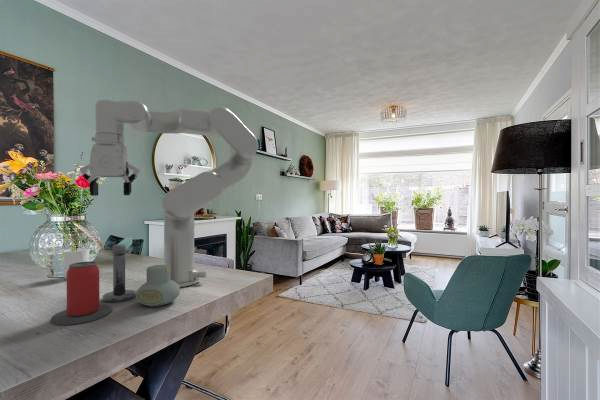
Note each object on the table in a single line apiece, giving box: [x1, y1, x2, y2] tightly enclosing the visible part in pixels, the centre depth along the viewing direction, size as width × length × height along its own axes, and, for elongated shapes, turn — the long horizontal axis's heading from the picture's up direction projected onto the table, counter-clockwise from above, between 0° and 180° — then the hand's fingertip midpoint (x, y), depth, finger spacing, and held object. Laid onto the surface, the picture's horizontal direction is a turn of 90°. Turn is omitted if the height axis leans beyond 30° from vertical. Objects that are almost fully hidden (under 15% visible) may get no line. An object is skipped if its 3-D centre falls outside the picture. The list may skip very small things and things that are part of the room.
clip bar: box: [112, 237, 133, 255], centre depth 96 cm, size 22×3×2 cm, turn 22°
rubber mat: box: [50, 303, 113, 326], centre depth 75 cm, size 12×12×1 cm
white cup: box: [62, 247, 91, 280], centre depth 111 cm, size 8×8×10 cm
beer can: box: [66, 261, 100, 317], centre depth 75 cm, size 7×7×12 cm
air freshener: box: [135, 264, 181, 308], centre depth 84 cm, size 11×8×10 cm
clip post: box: [102, 253, 136, 304], centre depth 88 cm, size 8×8×13 cm
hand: (110, 195), depth 97 cm, fingers open, 9 cm apart
